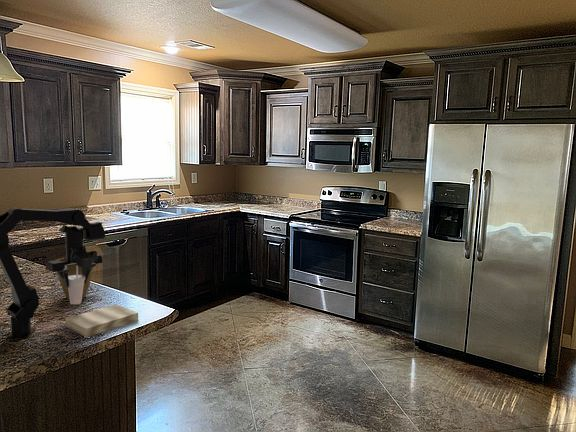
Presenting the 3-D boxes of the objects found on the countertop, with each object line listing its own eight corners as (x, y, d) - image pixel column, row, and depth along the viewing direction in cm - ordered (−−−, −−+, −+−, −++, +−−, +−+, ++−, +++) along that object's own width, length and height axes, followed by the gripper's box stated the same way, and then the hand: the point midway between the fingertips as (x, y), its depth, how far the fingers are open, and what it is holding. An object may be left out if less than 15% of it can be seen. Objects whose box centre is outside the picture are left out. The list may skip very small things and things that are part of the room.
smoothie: (78, 306, 158) (78, 268, 157) (61, 304, 159) (61, 266, 158) (89, 301, 165) (89, 264, 163) (73, 299, 166) (73, 262, 164)
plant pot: (102, 295, 191) (101, 259, 188) (68, 304, 178) (67, 266, 176) (82, 288, 199) (81, 254, 197) (49, 297, 187) (47, 260, 184)
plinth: (86, 337, 148) (86, 328, 148) (65, 326, 156) (65, 318, 156) (138, 320, 164) (138, 312, 163) (116, 311, 172) (116, 304, 172)
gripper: (60, 250, 147) (62, 296, 149) (111, 242, 162) (112, 283, 164) (43, 245, 153) (45, 289, 155) (93, 238, 168) (95, 278, 171)
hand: (76, 285), depth 161 cm, fingers closed on smoothie, 6 cm apart
